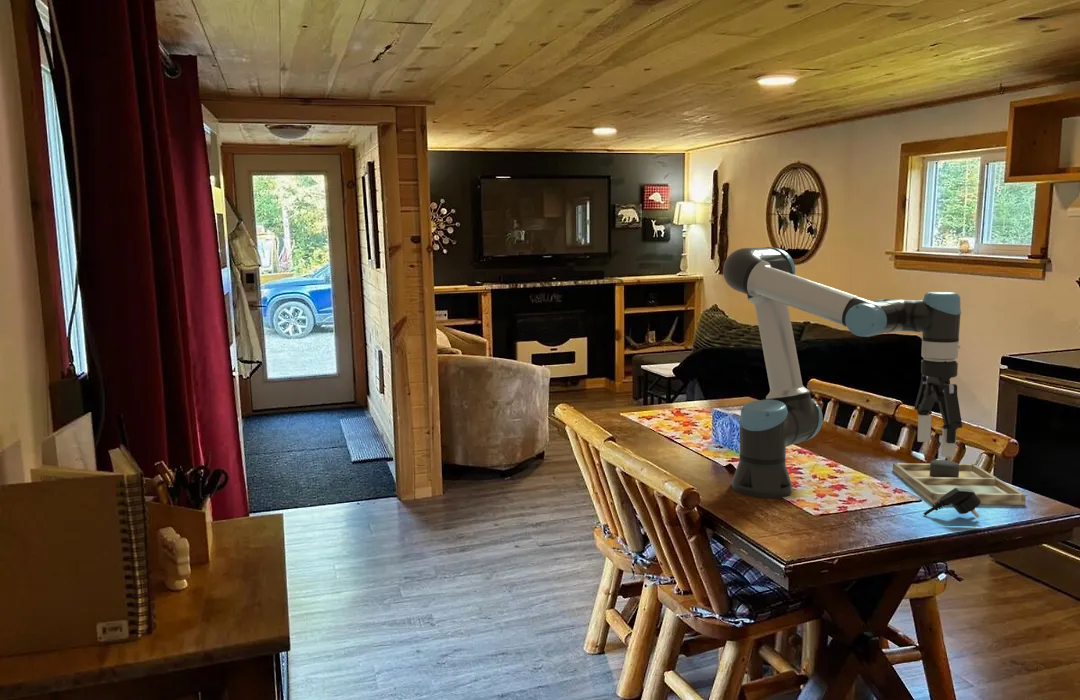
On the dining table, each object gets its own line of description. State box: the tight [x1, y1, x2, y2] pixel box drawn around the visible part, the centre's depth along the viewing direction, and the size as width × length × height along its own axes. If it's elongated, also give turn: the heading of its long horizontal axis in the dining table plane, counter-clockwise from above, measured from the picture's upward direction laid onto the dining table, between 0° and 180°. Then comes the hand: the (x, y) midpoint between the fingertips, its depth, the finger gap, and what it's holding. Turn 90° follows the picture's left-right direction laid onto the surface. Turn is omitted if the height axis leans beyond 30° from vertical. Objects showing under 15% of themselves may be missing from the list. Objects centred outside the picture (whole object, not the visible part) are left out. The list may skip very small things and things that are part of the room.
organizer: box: [892, 462, 1027, 506], centre depth 205 cm, size 22×27×2 cm
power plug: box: [922, 488, 981, 519], centre depth 183 cm, size 6×8×12 cm
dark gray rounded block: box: [929, 459, 960, 478], centre depth 211 cm, size 7×7×4 cm
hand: (935, 448), depth 181 cm, fingers open, 13 cm apart
